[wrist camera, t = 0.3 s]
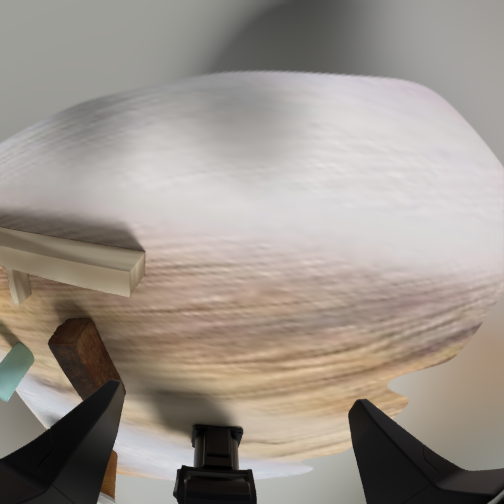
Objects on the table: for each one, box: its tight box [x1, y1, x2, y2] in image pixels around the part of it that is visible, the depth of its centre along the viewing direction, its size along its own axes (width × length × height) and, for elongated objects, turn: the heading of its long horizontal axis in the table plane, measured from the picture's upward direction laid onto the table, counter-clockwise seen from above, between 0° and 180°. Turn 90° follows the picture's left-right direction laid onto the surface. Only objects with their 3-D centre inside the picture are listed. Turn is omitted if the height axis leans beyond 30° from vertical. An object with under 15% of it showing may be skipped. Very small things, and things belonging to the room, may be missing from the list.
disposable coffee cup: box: [97, 450, 118, 504], centre depth 27 cm, size 10×10×12 cm
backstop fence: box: [0, 227, 145, 305], centre depth 19 cm, size 7×22×4 cm, turn 80°
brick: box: [48, 319, 126, 401], centre depth 23 cm, size 11×4×5 cm, turn 6°
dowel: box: [0, 343, 34, 401], centre depth 21 cm, size 4×4×8 cm
